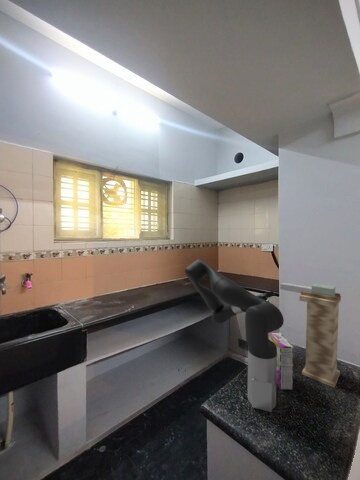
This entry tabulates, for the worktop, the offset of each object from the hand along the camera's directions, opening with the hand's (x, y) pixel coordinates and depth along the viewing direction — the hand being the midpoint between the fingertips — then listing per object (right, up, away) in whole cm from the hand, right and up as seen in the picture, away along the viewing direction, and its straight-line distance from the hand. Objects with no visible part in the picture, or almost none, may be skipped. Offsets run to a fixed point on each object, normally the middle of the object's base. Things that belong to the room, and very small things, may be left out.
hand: (270, 295), depth 102 cm
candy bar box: (-3, -29, -16) cm, 34 cm away
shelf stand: (+15, -29, -13) cm, 35 cm away
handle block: (+11, +4, -10) cm, 15 cm away
